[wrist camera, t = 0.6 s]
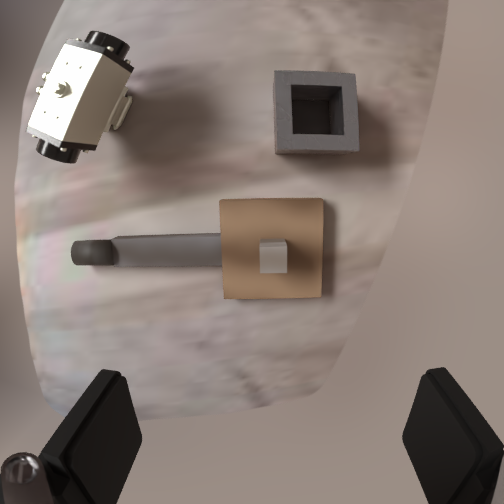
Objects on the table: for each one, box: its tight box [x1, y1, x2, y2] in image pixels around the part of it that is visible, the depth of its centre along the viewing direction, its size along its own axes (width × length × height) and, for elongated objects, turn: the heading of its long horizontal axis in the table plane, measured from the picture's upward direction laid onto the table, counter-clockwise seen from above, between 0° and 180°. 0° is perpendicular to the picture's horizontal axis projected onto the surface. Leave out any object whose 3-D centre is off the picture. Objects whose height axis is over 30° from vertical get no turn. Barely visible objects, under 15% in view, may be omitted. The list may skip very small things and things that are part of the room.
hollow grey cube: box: [273, 71, 359, 155], centre depth 28 cm, size 7×7×6 cm
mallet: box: [71, 198, 323, 299], centre depth 32 cm, size 10×27×6 cm, turn 91°
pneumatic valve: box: [26, 31, 134, 163], centre depth 25 cm, size 6×12×12 cm, turn 153°
